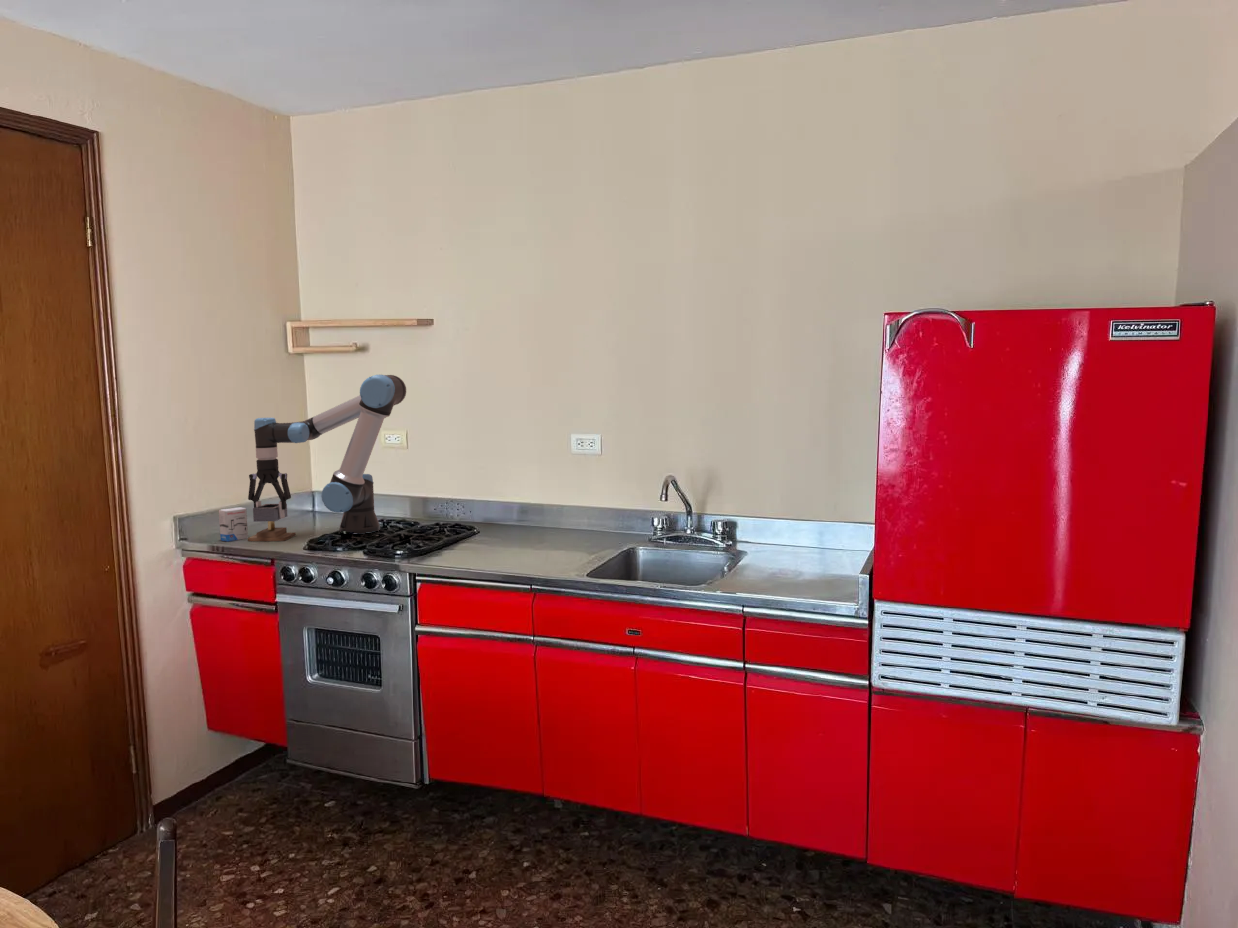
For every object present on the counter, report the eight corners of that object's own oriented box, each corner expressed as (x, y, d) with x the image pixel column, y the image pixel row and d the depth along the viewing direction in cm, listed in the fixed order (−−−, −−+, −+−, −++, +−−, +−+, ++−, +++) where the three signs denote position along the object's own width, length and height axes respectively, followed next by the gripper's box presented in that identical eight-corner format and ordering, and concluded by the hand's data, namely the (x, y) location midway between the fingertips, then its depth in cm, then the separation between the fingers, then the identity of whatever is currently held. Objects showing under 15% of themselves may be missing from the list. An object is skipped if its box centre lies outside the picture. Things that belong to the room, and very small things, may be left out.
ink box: (226, 542, 305) (224, 510, 304) (220, 540, 308) (218, 509, 307) (248, 538, 312) (246, 507, 311) (242, 536, 315) (240, 506, 314)
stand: (295, 535, 315) (295, 527, 315) (284, 540, 305) (284, 532, 305) (260, 535, 316) (259, 527, 315) (247, 541, 306) (247, 532, 305)
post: (276, 529, 311) (275, 512, 311) (272, 530, 308) (271, 513, 308) (269, 529, 311) (268, 512, 311) (266, 530, 309) (265, 513, 308)
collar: (287, 516, 315) (286, 503, 315) (274, 521, 304) (274, 508, 304) (267, 516, 315) (266, 503, 315) (253, 521, 304) (252, 508, 304)
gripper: (298, 457, 311) (302, 516, 313) (244, 458, 311) (248, 516, 314) (290, 459, 303) (293, 519, 306) (234, 460, 304) (239, 520, 306)
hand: (270, 518), depth 310 cm, fingers closed on collar, 8 cm apart
